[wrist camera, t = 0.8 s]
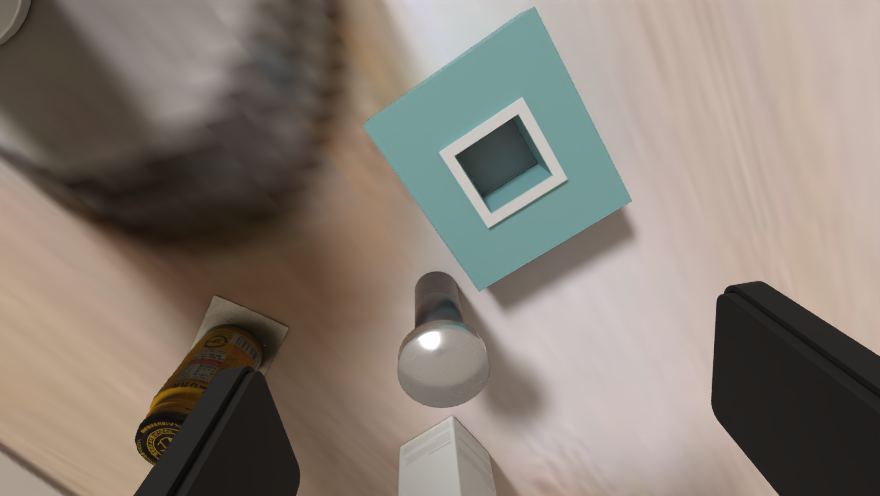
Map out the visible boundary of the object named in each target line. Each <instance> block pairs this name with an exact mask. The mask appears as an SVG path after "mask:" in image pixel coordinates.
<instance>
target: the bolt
mask: <svg viewBox="0 0 880 496" xmlns="http://www.w3.org/2000/svg"><path fill="white" fill-rule="evenodd" d="M489 372H490V365H489V359H488V355H487V351H486V347H485V344H484V342H483V340H482V338H481V337H480V336H479V334H478V333H477V332H476V331H475V330H474V329H472V328H471V327H469V326H467V325H465V324H464V319H463V314H462V309H461V303H460V298H459V293H458V287H457V284H456V282H455V280H454V279H453V278H452V277H451V276H450V275H448V274H446V273H444V272H430V273H427V274H425V275H424V276H422V277H421V278H420V279H419V281H418V282H417V284H416V287H415V329H414V330H413V331H411V332H410V333H409V334H408V335H407V337H406V338H405V339H404V341H403V342H402V344H401V347H400V350H399V355H398V379H399V382H400V384H401V386H402V388H403V390H404V391H405V392H406V393H407V394H408V395H409V396H410V397H411V398H412V399H414V400H415V401H417V402H419V403H421V404H423V405H426V406H430V407H437V408H447V407H453V406H458V405H460V404H463V403H465V402H467V401H469V400H471V399H472V398H474V397H475V396H476V395H477V394H478V393H479V392H480V391H481V390H482V389H483V387H484V386H485V384H486V382H487V380H488V377H489Z"/></svg>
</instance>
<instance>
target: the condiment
mask: <svg viewBox="0 0 880 496" xmlns="http://www.w3.org/2000/svg"><path fill="white" fill-rule="evenodd" d="M229 320H232V321H231V322H229ZM225 322H228V323H225ZM288 329H289V328H288V327H286V326H283V325H281V324H280V323H278V322H275V321H273V320H271V319H269V318H266V317H265V316H263V315H260V314H258V313H256V312H253V311H251V310H249V309H247V308H245V307H241V306H239V305H236V304H234V303H232V302H230V301H228V300H225V299H222V298H220V297H217V296H215V295H214V297H213V299H212V301H211V303H210V306H209V308H208V310H207V312H206V315H205V317H204V319H203V321H202V324H201V326H200V329H199V331H198V333H197V336H196V338H195V340H194V342H193V345H192V347H191V349H190V351H189V353H188V354H187V356H186V357H185V359H184V360H183V361H182V363H181V364H180V365H179V367H178V368H177V370H176V371H175V372H174V373H173V375H172V376H171V377H170V378H169V379H168V381H167V382H166V383H165V384H164V386H163V387H162V388H161V390H160V391H159V392H158V394H157V395H156V396H155V397H154V399H153V401H152V403H151V406H150V412H149V413H148V414H147V416H146V418H145V419H144V420H143V422H142V423H141V424H140V426H139V429H138V430H137V433H136V437H135V443H136V446H137V450H138V452H139V453H140V454H141V456H142V457H143V458H144V459H145V460H147V461H148V462H149V463H151V464H152V465H155V464H156V462H157V461H158V459H159V458H160V456H161V455H162V453H163V452H164V450H165V449H166V448H167V446H168V445H169V443H170V442H171V440H172V439H173V437H174V436H175V434H176V433H177V431H178V430H179V429H180V427H181V426H182V424H183V423H184V421H185V420H186V418H187V417H188V415H189V414H190V412H191V411H192V410H193V408H194V407H195V405H196V404H197V402H198V401H199V399H200V398H201V396H202V395H203V393H204V392H205V391H206V389H207V388H208V386H209V385H210V383H211V382H212V380H213V379H214V377H215V376H216V374H217V373H218V372H219V371H221V370H224V369H230V368H236V367H242V366H251V367H252V368H253V369H254V370H255V371H260V372H261V373H262V374H263V375H265V374H266V372H267V370H268V368H269V366H270V364H271V362H272V360H273V358H274V356H275V354H276V352H277V350H278V349H279V347H280V345H281V343H282V341H283V339H284V337H285V335H286V333H287V331H288ZM264 345H265V346H264Z"/></svg>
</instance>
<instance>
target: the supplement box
mask: <svg viewBox="0 0 880 496" xmlns="http://www.w3.org/2000/svg"><path fill="white" fill-rule="evenodd" d="M398 496H497V494H496V489H495V484H494V479H493V473H492V468H491V462H490V457H489V453H488V452H487V451H486V450H485V449H484V448H483V447H482V446H481V445H480V444H479V443H478V442H477V441H476V440H475V438H474V437H473V436H472V435H471V434H470V433H469V432H468V431H467V430H466V429H465V428H464V427H463V426H462V425H461V424H460V423H459V422H458V421H457V420H456V418H455V417H454V416H451V417H449V418H447V419H446V420H444V421H442V422H441V423H439V424H437V425H436V426H434V427H432V428H430V429H429V430H427V431H425V432H424V433H422V434H420V435H419V436H417V437H415V438H414V439H412V440H411V441H409V442H407V443H406V444H404V445H403V446H401V447H400V457H399V489H398Z"/></svg>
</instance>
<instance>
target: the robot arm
mask: <svg viewBox="0 0 880 496" xmlns="http://www.w3.org/2000/svg"><path fill="white" fill-rule="evenodd" d="M30 4H31V0H0V45H1V44H3V43H5V42H6V41H7V40H8V39H10V38H11V37H12V36H13V35H14V34H15V33H16V32H17V31H18V29H19V28H20V26H21V25H22V23H23V22H24V20H25V18H26V16H27V13H28V10H29V7H30ZM711 405H712V409H713V412H714V414H715V416H716V418H717V420H718V421H719V422H720V424H721V425H722V426H723V427H724V429H725V430H726V431H727V432H728V433H729V435H730V436H731V437H732V438H733V440H734V441H735V442H736V443H737V444H738V446H739V447H740V448H741V449H742V451H743V452H744V453H745V454H746V455H747V457H748V458H749V459H750V460H751V462H752V463H753V464H754V465H755V466H756V468H757V469H758V470H759V471H760V472H761V474H762V475H763V476H764V477H765V479H766V480H767V481H768V482H769V483H770V485H771V486H772V487H773V488H774V490H775V491H776V492H777V493H778V494H779V496H880V356H878V355H877V354H875V353H874V352H872V351H871V350H869V349H867V348H866V347H864V346H863V345H861V344H860V343H858V342H857V341H855V340H853V339H852V338H850V337H849V336H847V335H846V334H844V333H843V332H841V331H839V330H838V329H836V328H835V327H833V326H832V325H830V324H828V323H827V322H825V321H824V320H822V319H821V318H819V317H818V316H816V315H814V314H813V313H811V312H810V311H808V310H807V309H805V308H804V307H802V306H800V305H799V304H797V303H796V302H794V301H793V300H791V299H790V298H788V297H786V296H785V295H783V294H782V293H780V292H779V291H777V290H775V289H774V288H772V287H771V286H769V285H768V284H766V283H764V282H762V281H755V282H749V283H743V284H737V285H731V286H728V287H727V288H726V289H725V291H724V294H722V295H720V296H719V297H718V298H717V304H716V322H715V341H714V359H713V377H712V396H711ZM299 483H300V469H299V465H298V463H297V460H296V458H295V455H294V452H293V450H292V447H291V445H290V442H289V439H288V437H287V434H286V432H285V429H284V427H283V424H282V421H281V419H280V416H279V414H278V411H277V408H276V406H275V403H274V401H273V398H272V396H271V393H270V390H269V388H268V385H267V383H266V380H265V377H264V375H263V374H262V373H261V372H260V371H255V370H254V369H253V368H252V367H251V366H242V367H236V368H230V369H224V370H221V371H219V372H218V373H217V374H216V376H215V377H214V379H213V380H212V382H211V383H210V385H209V386H208V388H207V389H206V391H205V392H204V393H203V395H202V396H201V398H200V399H199V401H198V402H197V404H196V405H195V407H194V408H193V410H192V411H191V412H190V414H189V415H188V417H187V418H186V420H185V421H184V423H183V424H182V426H181V427H180V429H179V430H178V431H177V433H176V434H175V436H174V437H173V439H172V440H171V442H170V443H169V445H168V446H167V448H166V449H165V450H164V452H163V453H162V455H161V456H160V458H159V459H158V461H157V462H156V464H155V465H154V467H153V468H152V469H151V471H150V472H149V474H148V475H147V477H146V478H145V480H144V481H143V483H142V484H141V486H140V487H139V488H138V490H137V491H136V493H135V494H134V496H296V494H297V490H298V487H299Z"/></svg>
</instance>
